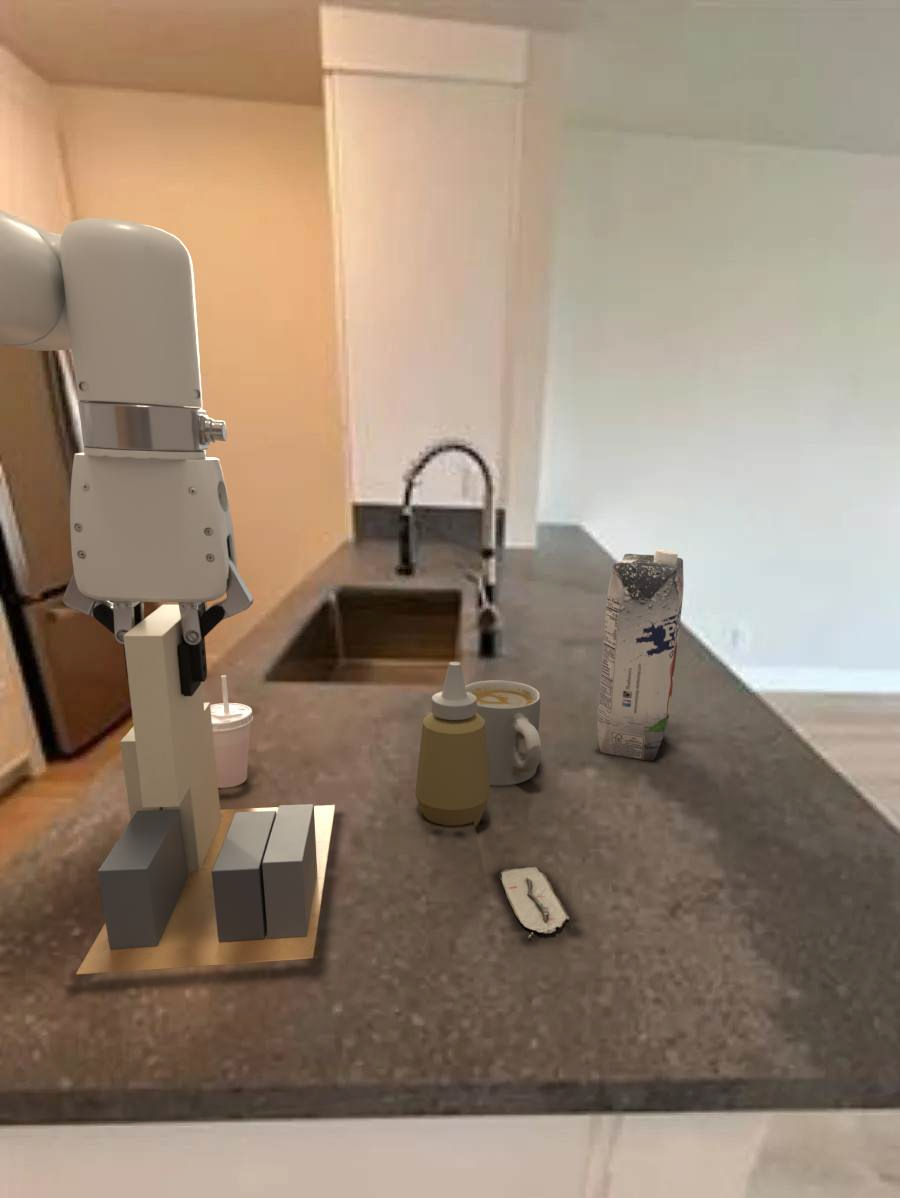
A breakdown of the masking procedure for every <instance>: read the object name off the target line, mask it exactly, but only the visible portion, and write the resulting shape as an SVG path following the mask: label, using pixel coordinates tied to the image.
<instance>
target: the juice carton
mask: <svg viewBox="0 0 900 1198" xmlns="http://www.w3.org/2000/svg"><path fill="white" fill-rule="evenodd" d="M684 583H685V582H684V559H683V558H682V557H679V552H676V551H674V550H669V549H662V548H658V549H657V548H656V549H655V551H654V554H637V553H624V554H623V557H622V559H621V560H619V561H616V562H614V563H613V565H612V568H611V574H610V578H609V584H608V591H607V597H606V608H605V622H604V624H605V625H604V632H603V633H604V635H603V644H602V645H603V646H602V657H601V658H602V660H601V669H600V682H599V683H600V684H599V696H598V708H597V709H598V710H597V736H598V746H599V747H598V748H599V751H600V753H602V754H605V755H612V756H616V757H617V756H618V757H624V758H630V759H636V760H642V761H647V762H653V761H654V760H655V759H656V757H657V754H658V752H659V749H660V746H661V744H662V741H663V738H664V735H665V731H666V729H667V725H668V723H669V719H670V713H671V707H672V699H673V698H672V697H673V688H674V681H675V680H674V679H675V671H676V662H677V655H678V644H679V637H680V628H681V627H680V626H681V619H682V610H683V601H684V600H683V599H684Z"/></svg>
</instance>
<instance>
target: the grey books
mask: <svg viewBox="0 0 900 1198" xmlns="http://www.w3.org/2000/svg"><path fill="white" fill-rule="evenodd" d="M314 806H315V804H314V803H307V804H303V803H302V804H282V805H278V811H277V814H276V811H256V812H235V814H234V817H233V819H232V822H231V824H230V827H229V829H228V832H227V834H226V836H225V839H224V841H223V844H222V846H221V849H220V851H219V854H218V856H217V859H216V861H215V864H214V866H213V869H212V871H211V873H212V883H213V892H214V902H215V912H216V922H217V931H218V941H219V942H229V941H244V940H260V939H264V938H265V935H266V930H267V933H268V939H278V938H293V937H306V936H307V931H308V925H309V919H310V913H311V907H312V901H313V895H314V889H315V883H316V877H317V856H316V836H315V816H314ZM97 878H98V883H99V890H100V897H101V903H102V909H103V914H104V921H105V922H106V928H107V935H108V941H109V947H110V949H122V948H138V947H153V946H158V944H159V942H160V939H161V937H162V935H163V933H164V930H165V928H166V926H167V924H168V922H169V919H170V917H171V915H172V913H173V910H174V908H175V906H176V904H177V901H178V899H179V897H180V895H181V893H182V890H183V888H184V886H185V884H186V881H187V879H188V876H187V867H186V858H185V850H184V841H183V832H182V824H181V815H180V809H173V810H147V811H137V812H136V813H135V815H134V816H133V818H132V820H131V819H130V821H129V822H128V824H127V825H126V826H125V829H124V830H123V831H122V833H121V835H120V836H119V837H118V839H117V841H116V842H115V843H114V845H113V847H112V849H111V850H110V852H109V853H108V854H107V856H106V857H105V858H104V861H103V862H102V863H101V865H100V866H99V868H98V869H97ZM105 922H104V923H105Z"/></svg>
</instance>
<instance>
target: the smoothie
mask: <svg viewBox="0 0 900 1198" xmlns="http://www.w3.org/2000/svg"><path fill="white" fill-rule="evenodd" d="M227 679H228V677H227V675H226V674H224V675H220V681H221V682H220V683H221V693H222V703H221V702H219V703H214V704H210V708H211V719H212V729H213V740H214V750H215V761H216V771H217V782H218V789H226V788H234V787H238V786H239V785H243V783H245V782H246V781H247V779H248V765H249V750H250V749H249V747H250V733H251V723H252V722H253V720H254V716H253V710H252V708H251V707H250V706H248V705H246V704H242V703H237V702H229V690H228V680H227Z"/></svg>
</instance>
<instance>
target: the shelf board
mask: <svg viewBox="0 0 900 1198" xmlns="http://www.w3.org/2000/svg"><path fill="white" fill-rule="evenodd" d="M278 807H279V806H278ZM278 807H276V806H275V807H251V808H250V807H249V808H227V809H226V808H225V809H223V808H222V809H220V813H221V823H220V825H219V827H218V830H217V832H216V834H215V837H214V839H213V841H212V844H211V846H210V848H209V850H208V853H207V855H206V857H205V860H204V862H203V864H202V867H201V869H200V871H199V872H187V876H188V879H187V881H186V884H185V886H184V888H183V890H182V893H181V895H180V897H179V899H178V901H177V904H176V906H175V908H174V910H173V913H172V915H171V917H170V919H169V922H168V924H167V926H166V928H165V930H164V933H163V935H162V937H161V939H160V942H159V944H158V946H153V947H138V948H122V949H110V947H109V941H108V935H107V928H106V922H104V924H103V926H102V928H101V930H100V931H99V933H98V934H97V936H96V938H95V939H94V942H93V943H92V945H91V947H90V948H89V950H88V952H87V954H86V955H85V957H84V959H83V961H82V962H81V964H80V966H79V968H78V969H77V971H76V973H75V975H76V976H77V975H78V976H79V975H92V974H107V973H121V972H133V971H134V972H135V971H136V972H137V971H149V970H161V969H162V970H164V969H178V968H192V967H193V968H194V967H206V966H209V967H210V966H223V965H236V964H237V965H238V964H250V963H251V964H252V963H253V964H254V963H264V962H266V963H267V962H279V961H280V962H281V961H292V960H293V961H294V960H309V959H310V960H311V959H314V956H315V949H316V948H315V947H316V941H317V936H318V935H317V934H318V929H319V921H320V915H321V908H322V901H323V893H324V886H325V879H326V874H327V873H326V872H327V866H328V858H329V852H330V844H331V838H332V831H333V824H334V818H335V812H336V804H331V805H330V804H327V805H326V804H325V805H314V816H315V836H316V856H317V877H316V883H315V889H314V895H313V901H312V907H311V913H310V919H309V925H308V931H307V936H306V937H293V938H278V939H268V933H267V930H266V935H265V938H264V939H260V940H244V941H229V942H219V941H218V931H217V922H216V912H215V902H214V892H213V883H212V873H211V871H212V869H213V866H214V864H215V861H216V859H217V856H218V854H219V851H220V849H221V846H222V844H223V841H224V839H225V836H226V834H227V832H228V829H229V827H230V824H231V822H232V819H233V817H234V814H235V812H256V811H276V814H277V811H278Z"/></svg>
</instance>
